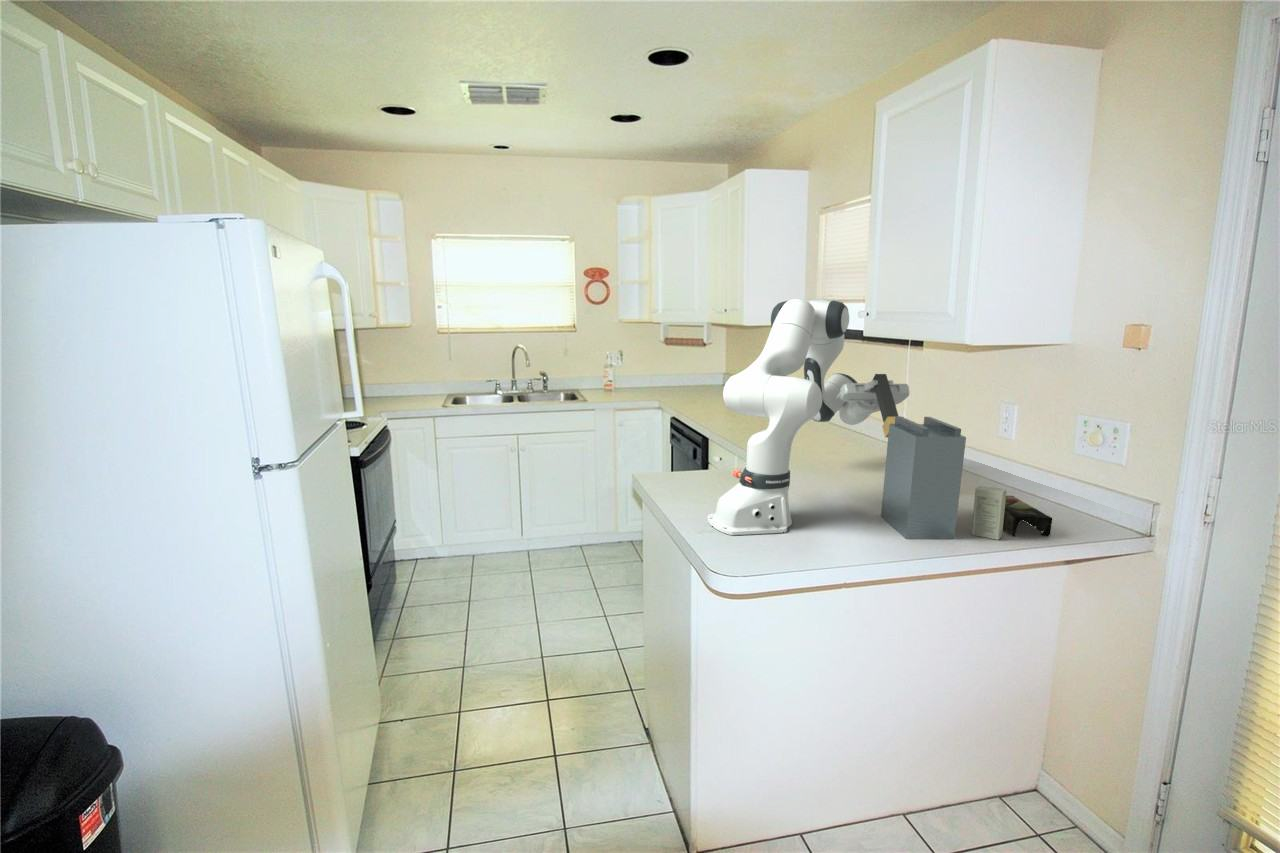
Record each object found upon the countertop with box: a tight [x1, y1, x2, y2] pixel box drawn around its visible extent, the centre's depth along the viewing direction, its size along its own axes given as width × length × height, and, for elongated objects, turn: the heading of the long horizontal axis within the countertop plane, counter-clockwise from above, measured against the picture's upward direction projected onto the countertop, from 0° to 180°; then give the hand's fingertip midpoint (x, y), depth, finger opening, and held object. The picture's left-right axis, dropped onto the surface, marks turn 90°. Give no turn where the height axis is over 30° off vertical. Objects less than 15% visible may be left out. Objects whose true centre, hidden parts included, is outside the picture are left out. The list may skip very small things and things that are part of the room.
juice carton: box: [1003, 494, 1053, 537], centre depth 163 cm, size 20×10×6 cm, turn 176°
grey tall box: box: [880, 415, 967, 540], centre depth 157 cm, size 16×12×28 cm
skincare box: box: [971, 485, 1007, 541], centre depth 153 cm, size 6×4×12 cm
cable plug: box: [872, 373, 905, 439], centre depth 178 cm, size 21×5×5 cm
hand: (883, 382), depth 182 cm, fingers closed on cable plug, 3 cm apart
